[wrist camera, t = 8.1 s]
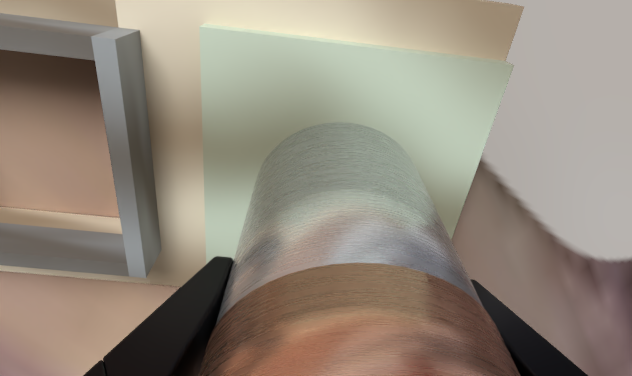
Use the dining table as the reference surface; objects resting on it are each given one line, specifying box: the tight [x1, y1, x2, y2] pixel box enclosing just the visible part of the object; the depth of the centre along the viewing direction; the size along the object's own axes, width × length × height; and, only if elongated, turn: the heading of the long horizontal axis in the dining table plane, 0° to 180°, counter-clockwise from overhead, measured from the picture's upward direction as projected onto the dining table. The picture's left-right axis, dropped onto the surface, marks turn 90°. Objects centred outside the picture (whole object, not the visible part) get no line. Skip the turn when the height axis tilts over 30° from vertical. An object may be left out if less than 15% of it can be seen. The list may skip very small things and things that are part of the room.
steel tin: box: [198, 122, 520, 376], centre depth 8 cm, size 5×5×10 cm
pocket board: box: [0, 0, 524, 287], centre depth 13 cm, size 12×20×3 cm, turn 83°
